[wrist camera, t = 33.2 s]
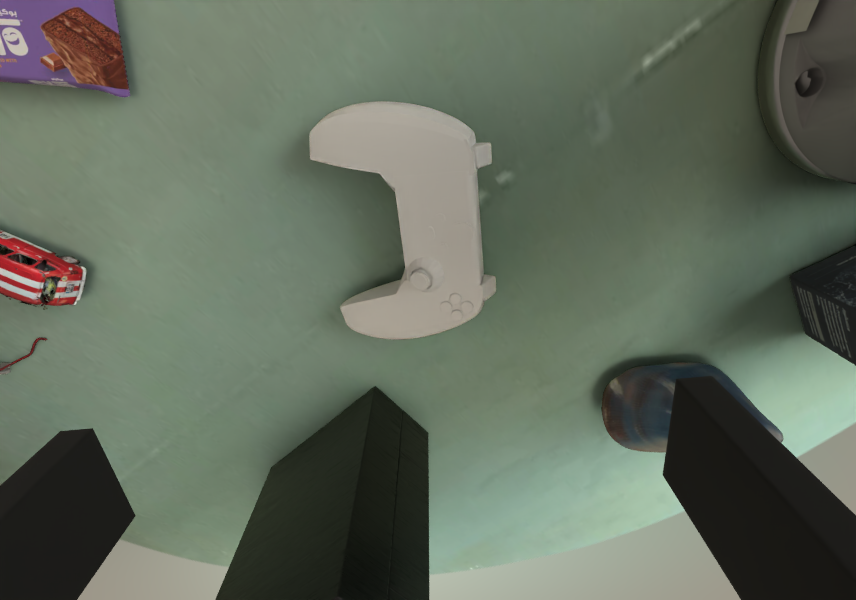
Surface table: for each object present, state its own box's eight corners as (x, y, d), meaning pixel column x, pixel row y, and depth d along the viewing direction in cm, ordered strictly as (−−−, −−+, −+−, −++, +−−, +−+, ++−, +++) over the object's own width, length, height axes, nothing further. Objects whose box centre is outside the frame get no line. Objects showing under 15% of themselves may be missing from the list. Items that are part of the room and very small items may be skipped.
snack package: (-102, 81, 24) (-142, -33, 22) (-66, 82, 26) (-100, -23, 24) (120, 97, 25) (100, -13, 23) (140, 97, 27) (124, -5, 25)
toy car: (-25, 212, 29) (-78, 216, 26) (97, 264, 30) (60, 274, 27) (-36, 262, 30) (-89, 271, 27) (84, 311, 31) (46, 326, 28)
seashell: (584, 403, 32) (688, 534, 29) (697, 322, 30) (815, 452, 28) (579, 395, 38) (664, 503, 35) (673, 327, 36) (769, 435, 34)
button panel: (428, 433, 36) (430, 659, 22) (324, 507, 39) (263, 749, 25) (375, 385, 34) (337, 597, 20) (270, 467, 38) (171, 702, 23)
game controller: (288, 111, 24) (474, 89, 21) (329, 107, 28) (491, 87, 25) (339, 347, 30) (490, 359, 27) (367, 317, 34) (502, 324, 31)
